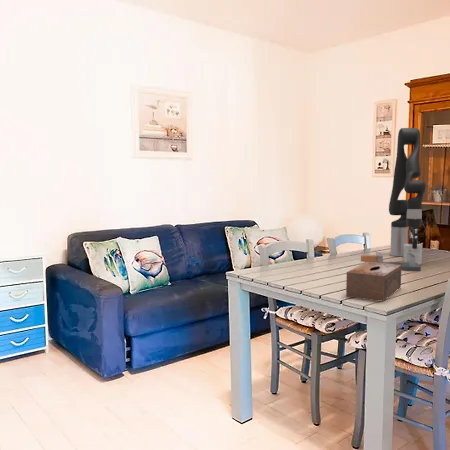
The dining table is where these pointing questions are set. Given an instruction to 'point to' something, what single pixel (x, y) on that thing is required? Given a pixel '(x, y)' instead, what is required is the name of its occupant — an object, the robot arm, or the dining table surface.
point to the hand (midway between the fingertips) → (413, 247)
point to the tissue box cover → (373, 281)
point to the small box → (415, 252)
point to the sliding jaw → (372, 258)
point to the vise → (407, 263)
